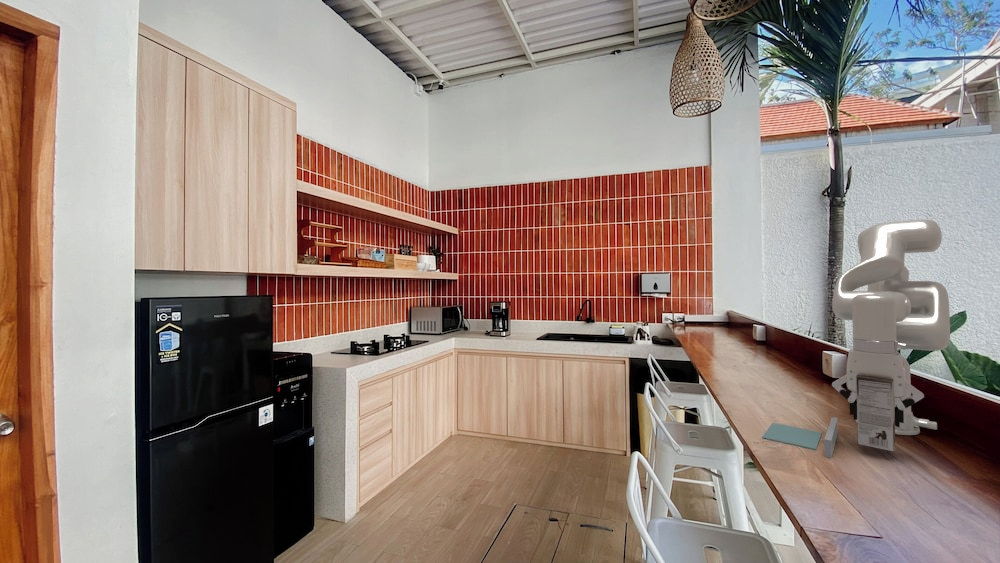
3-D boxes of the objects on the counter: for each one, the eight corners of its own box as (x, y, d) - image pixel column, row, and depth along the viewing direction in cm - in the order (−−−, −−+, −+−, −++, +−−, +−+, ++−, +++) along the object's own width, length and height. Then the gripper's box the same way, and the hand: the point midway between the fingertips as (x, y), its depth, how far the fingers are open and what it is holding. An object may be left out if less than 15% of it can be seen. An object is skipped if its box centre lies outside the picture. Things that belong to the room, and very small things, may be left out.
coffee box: (859, 432, 99) (858, 368, 99) (895, 438, 95) (894, 372, 94) (856, 444, 93) (854, 376, 93) (895, 452, 88) (893, 380, 88)
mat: (821, 433, 105) (821, 432, 105) (815, 450, 95) (815, 448, 95) (772, 423, 113) (772, 422, 113) (762, 438, 103) (762, 437, 103)
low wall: (838, 433, 106) (837, 418, 106) (831, 458, 91) (831, 440, 91) (832, 432, 106) (831, 417, 106) (824, 456, 92) (824, 439, 92)
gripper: (926, 347, 90) (928, 425, 90) (828, 340, 102) (829, 409, 102) (929, 353, 85) (931, 436, 85) (825, 345, 97) (827, 418, 97)
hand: (875, 420), depth 94 cm, fingers closed on coffee box, 6 cm apart
